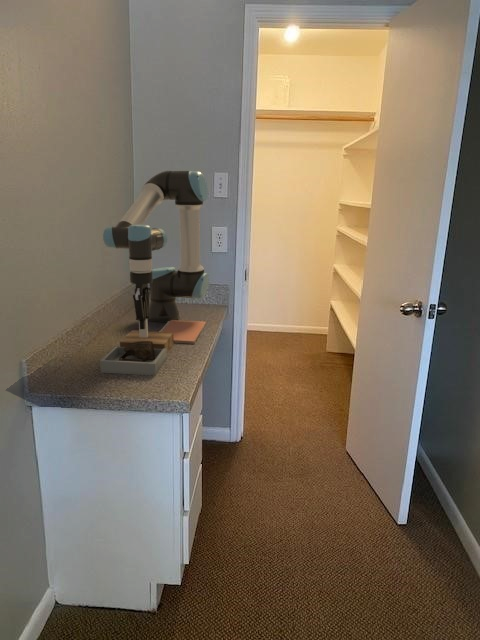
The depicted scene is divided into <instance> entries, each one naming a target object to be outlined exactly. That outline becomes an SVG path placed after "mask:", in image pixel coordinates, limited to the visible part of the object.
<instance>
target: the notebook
mask: <svg viewBox="0 0 480 640" xmlns="http://www.w3.org/2000/svg"><path fill="white" fill-rule="evenodd" d="M206 325H207V321H201V320H200V321H196V320H179V319H178V320H171V321H170V322H169V321H168V322H166V323H165V325H163V327H162V328H161V329H160V330H159V331H158V332H173V338H174V344H188V345H195V343H196V342H197V340H198V338H199V337H200V335H201V333H202V332H203V330H204V328H205V327H206Z"/></svg>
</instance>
